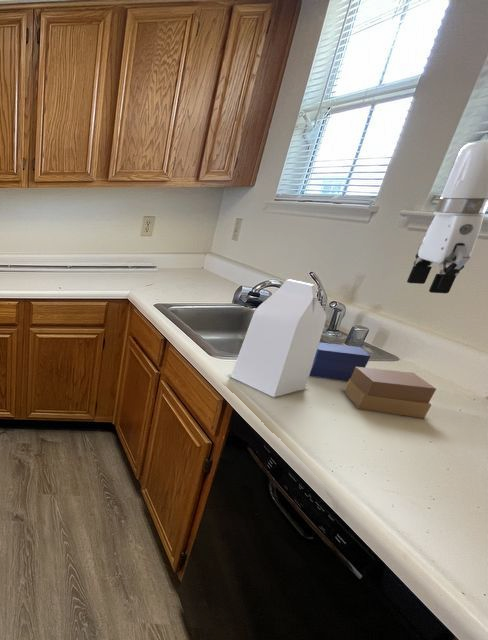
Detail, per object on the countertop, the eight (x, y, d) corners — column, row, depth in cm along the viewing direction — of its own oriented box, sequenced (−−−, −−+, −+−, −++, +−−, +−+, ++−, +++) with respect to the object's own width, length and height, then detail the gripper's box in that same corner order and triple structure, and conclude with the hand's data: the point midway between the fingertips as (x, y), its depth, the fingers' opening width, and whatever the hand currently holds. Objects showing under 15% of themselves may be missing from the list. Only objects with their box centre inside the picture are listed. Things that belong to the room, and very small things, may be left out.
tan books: (403, 399, 100) (417, 373, 97) (424, 418, 92) (439, 390, 89) (343, 390, 103) (354, 365, 100) (357, 408, 96) (370, 381, 93)
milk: (230, 376, 110) (259, 278, 99) (260, 369, 114) (291, 275, 103) (273, 397, 100) (311, 290, 89) (305, 388, 104) (344, 286, 93)
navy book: (356, 355, 111) (360, 346, 110) (366, 365, 106) (370, 355, 104) (308, 349, 114) (311, 341, 113) (315, 358, 109) (318, 349, 108)
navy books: (349, 372, 113) (356, 355, 111) (359, 383, 107) (367, 365, 105) (300, 365, 117) (306, 349, 115) (308, 376, 111) (314, 358, 109)
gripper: (514, 210, 80) (471, 298, 87) (459, 205, 94) (427, 280, 101) (462, 210, 82) (425, 295, 89) (417, 205, 97) (388, 278, 104)
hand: (426, 287), depth 95 cm, fingers open, 9 cm apart
